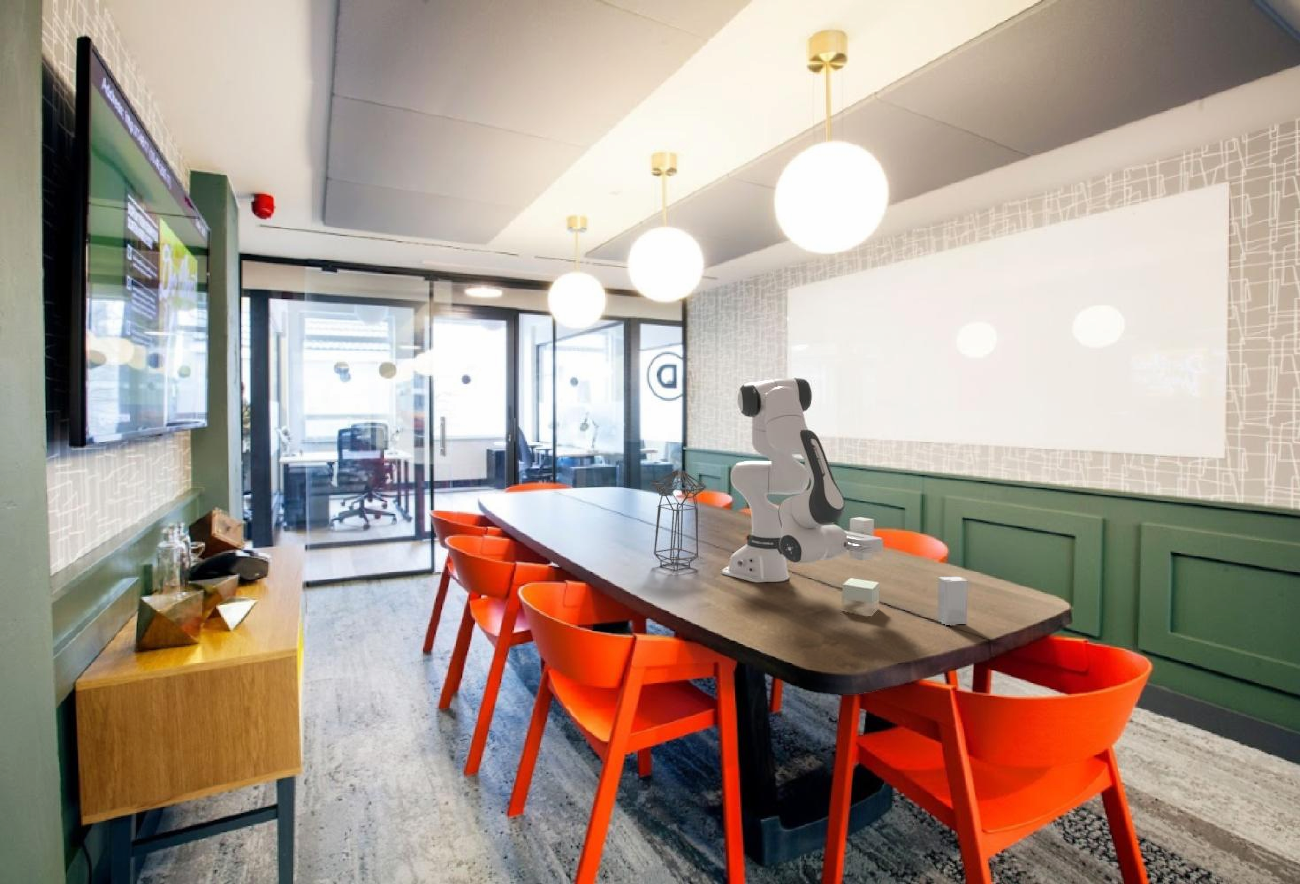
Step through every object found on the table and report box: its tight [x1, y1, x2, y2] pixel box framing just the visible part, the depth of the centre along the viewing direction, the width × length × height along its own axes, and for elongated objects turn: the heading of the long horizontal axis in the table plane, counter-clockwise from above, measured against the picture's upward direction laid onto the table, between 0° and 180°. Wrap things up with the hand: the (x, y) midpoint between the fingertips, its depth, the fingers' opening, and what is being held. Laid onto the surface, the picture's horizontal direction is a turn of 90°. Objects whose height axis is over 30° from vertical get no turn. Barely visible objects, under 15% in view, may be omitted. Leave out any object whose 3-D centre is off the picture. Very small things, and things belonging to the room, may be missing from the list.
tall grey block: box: [848, 516, 875, 561], centre depth 175 cm, size 4×4×11 cm
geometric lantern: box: [649, 469, 708, 572], centre depth 221 cm, size 16×16×35 cm
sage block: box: [841, 577, 880, 603], centre depth 176 cm, size 8×8×4 cm
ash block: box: [841, 596, 880, 617], centre depth 176 cm, size 8×8×4 cm
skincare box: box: [936, 576, 969, 626], centre depth 165 cm, size 6×4×12 cm
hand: (863, 536), depth 175 cm, fingers closed on tall grey block, 4 cm apart
